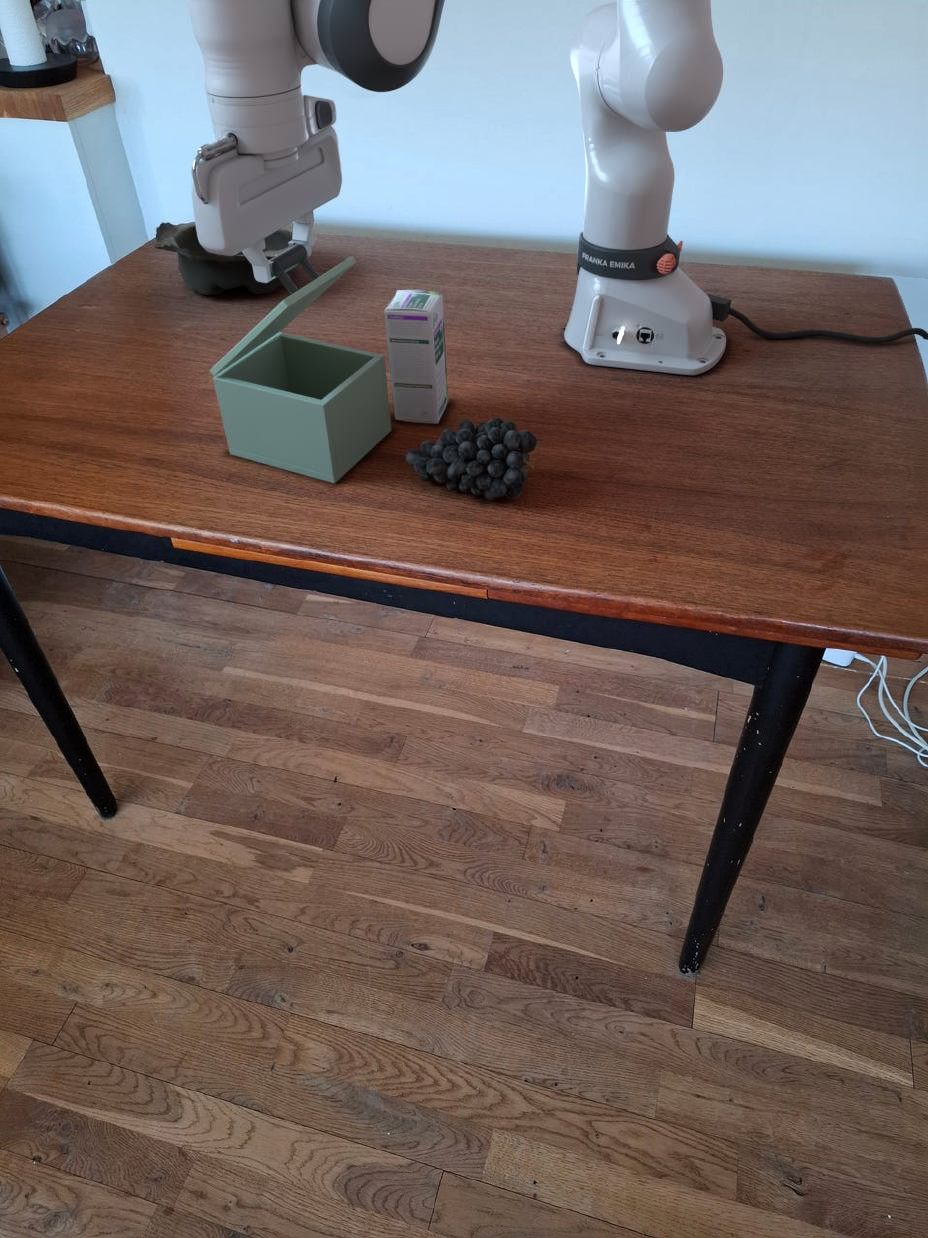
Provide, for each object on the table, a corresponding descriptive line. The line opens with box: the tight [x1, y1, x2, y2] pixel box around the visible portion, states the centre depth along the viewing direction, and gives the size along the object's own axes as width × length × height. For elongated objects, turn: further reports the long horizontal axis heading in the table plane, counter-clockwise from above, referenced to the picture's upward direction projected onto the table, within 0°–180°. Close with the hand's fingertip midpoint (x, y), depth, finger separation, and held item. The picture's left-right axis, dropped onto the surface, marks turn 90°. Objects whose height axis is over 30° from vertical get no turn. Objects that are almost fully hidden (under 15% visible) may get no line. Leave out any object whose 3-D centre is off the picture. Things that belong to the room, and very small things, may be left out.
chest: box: [212, 331, 392, 484], centre depth 104 cm, size 15×13×10 cm
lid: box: [209, 244, 357, 377], centre depth 97 cm, size 16×13×5 cm
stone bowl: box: [153, 221, 319, 296], centre depth 142 cm, size 25×25×9 cm
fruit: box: [405, 416, 538, 501], centre depth 97 cm, size 9×8×15 cm
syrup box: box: [383, 289, 449, 425], centre depth 107 cm, size 6×6×14 cm
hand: (284, 268), depth 93 cm, fingers closed on lid, 5 cm apart
